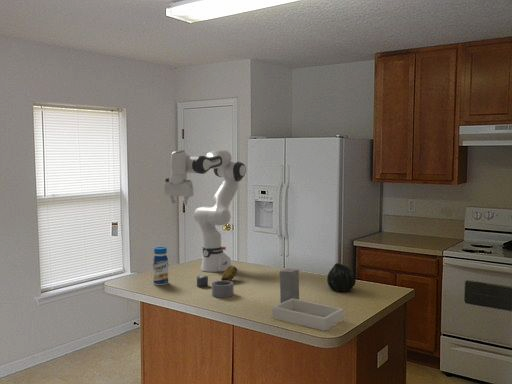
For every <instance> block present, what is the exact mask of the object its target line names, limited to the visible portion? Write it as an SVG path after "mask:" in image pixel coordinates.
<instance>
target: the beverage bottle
mask: <svg viewBox="0 0 512 384" xmlns="http://www.w3.org/2000/svg"><path fill="white" fill-rule="evenodd" d="M153 249H154V250H153V252H154V253H153V254H154V257H153V259H152V261H153V263H152V267H153V284H154V286H155V285H156V286H164V285H168V284H169V262H168V261H169V257H168V256H167V252H168V251H167V250H168V249H167V247H165V246H156V247H154V248H153Z"/></svg>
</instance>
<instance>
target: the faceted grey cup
mask: <svg viewBox="0 0 512 384" xmlns="http://www.w3.org/2000/svg"><path fill="white" fill-rule="evenodd" d="M234 294H235V293H234V281H232V280H231V281H223V280H216V281H212V283H211V296H212V297H213V298H219V299H226V298H227V299H228V298H231V297H234Z"/></svg>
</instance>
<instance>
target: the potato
mask: <svg viewBox="0 0 512 384" xmlns="http://www.w3.org/2000/svg"><path fill="white" fill-rule="evenodd" d="M237 273H238V268H237V267H234V266H229V267H228V268H227V269H226V270H225V271H223V273H222V276H221V278H220V281H222V280H223V281H232V280H234V278H235V276H236V275H237Z"/></svg>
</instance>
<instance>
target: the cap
mask: <svg viewBox="0 0 512 384" xmlns="http://www.w3.org/2000/svg"><path fill="white" fill-rule="evenodd" d="M196 287H197V288H203V289H204V288H208V287H209V276H207V275H199V276H196Z"/></svg>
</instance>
